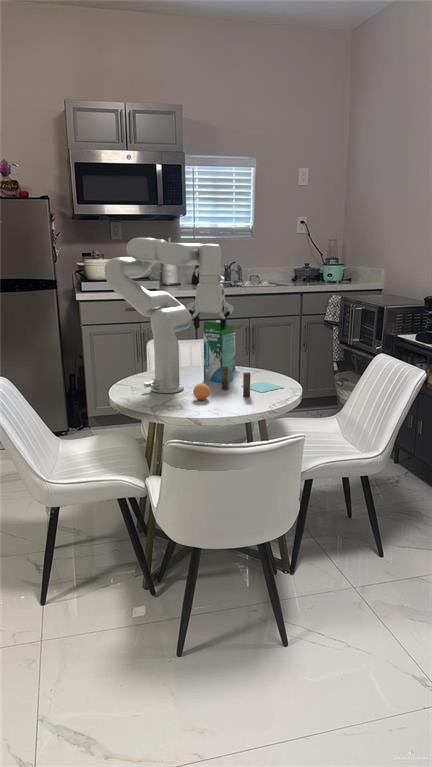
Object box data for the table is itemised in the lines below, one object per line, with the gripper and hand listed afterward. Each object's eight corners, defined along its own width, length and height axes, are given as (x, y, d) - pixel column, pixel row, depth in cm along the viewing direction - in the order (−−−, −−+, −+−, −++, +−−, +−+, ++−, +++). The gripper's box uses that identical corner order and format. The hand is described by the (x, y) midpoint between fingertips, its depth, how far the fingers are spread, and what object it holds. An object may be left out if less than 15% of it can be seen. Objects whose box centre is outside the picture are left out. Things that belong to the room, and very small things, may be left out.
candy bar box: (224, 367, 245) (225, 332, 241) (235, 368, 244) (235, 332, 240) (220, 373, 234) (220, 336, 230) (231, 373, 233) (231, 336, 229)
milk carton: (233, 378, 224) (233, 319, 218) (221, 383, 216) (222, 322, 210) (215, 376, 228) (215, 318, 222) (203, 380, 221) (203, 320, 215)
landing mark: (261, 392, 201) (261, 392, 201) (241, 386, 211) (241, 386, 211) (284, 387, 209) (284, 387, 208) (263, 382, 218) (263, 381, 218)
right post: (246, 397, 195) (246, 374, 192) (241, 396, 197) (241, 372, 194) (251, 396, 196) (251, 373, 194) (247, 395, 198) (247, 371, 196)
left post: (224, 390, 205) (224, 367, 202) (220, 389, 207) (220, 366, 204) (229, 389, 206) (229, 367, 204) (225, 388, 208) (225, 365, 206)
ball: (199, 403, 188) (199, 386, 186) (190, 399, 193) (189, 383, 191) (213, 400, 191) (213, 384, 190) (203, 396, 196) (203, 381, 195)
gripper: (236, 280, 185) (235, 328, 189) (190, 279, 190) (191, 326, 195) (230, 281, 178) (229, 331, 182) (182, 280, 184) (183, 329, 188)
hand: (209, 329), depth 189 cm, fingers open, 9 cm apart
